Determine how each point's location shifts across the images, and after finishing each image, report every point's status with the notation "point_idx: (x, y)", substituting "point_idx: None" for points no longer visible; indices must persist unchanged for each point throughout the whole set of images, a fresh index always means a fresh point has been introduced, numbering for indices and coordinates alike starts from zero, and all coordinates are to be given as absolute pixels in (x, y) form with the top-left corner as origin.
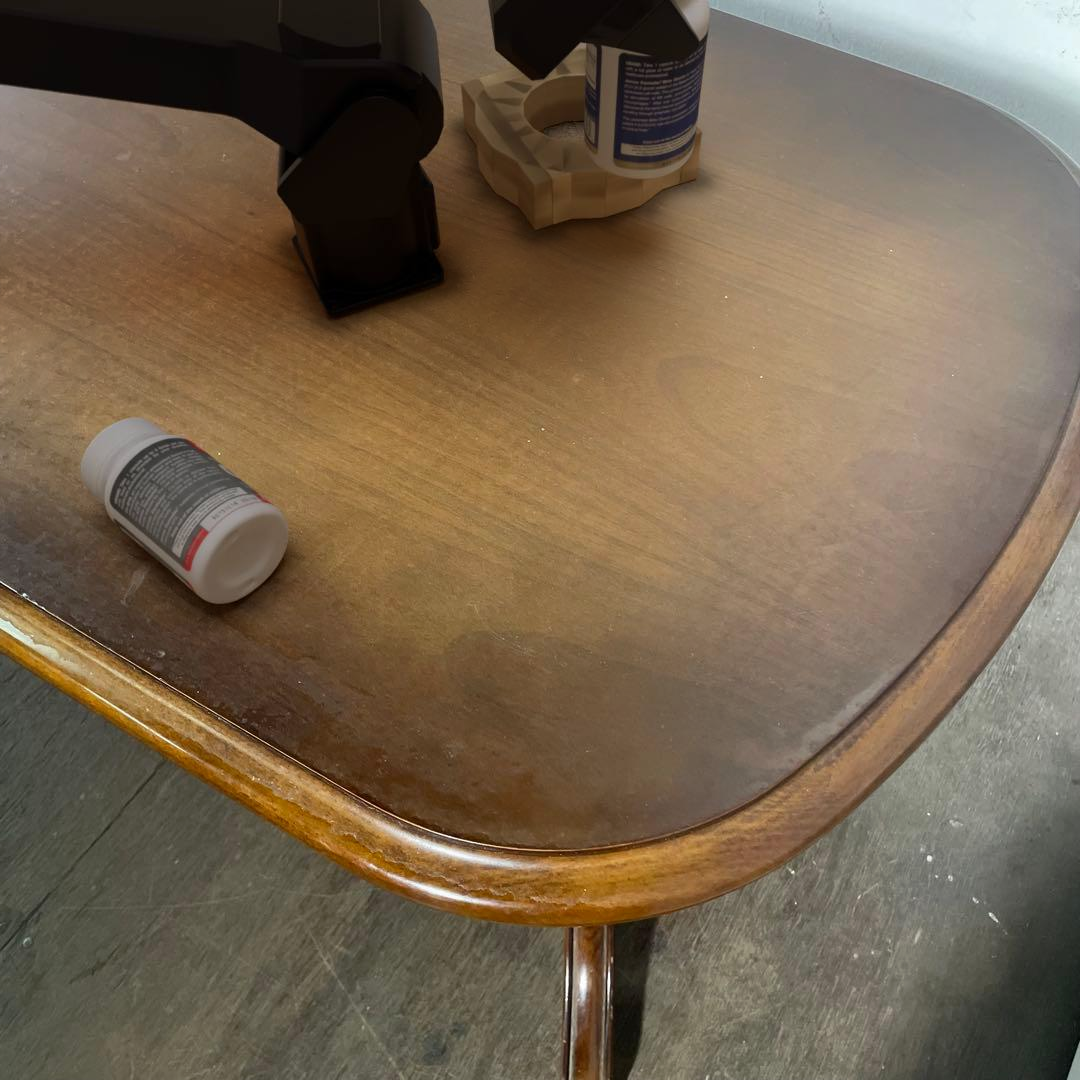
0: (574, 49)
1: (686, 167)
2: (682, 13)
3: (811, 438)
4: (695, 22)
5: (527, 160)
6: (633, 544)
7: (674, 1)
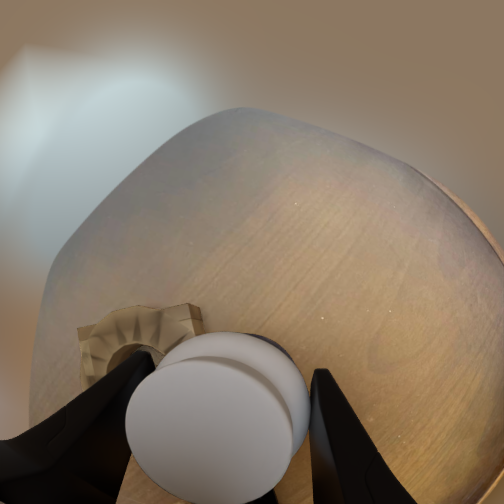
0: (81, 362)
1: (198, 315)
2: (332, 406)
3: (430, 293)
4: (289, 369)
5: None
6: (466, 390)
7: (336, 426)
